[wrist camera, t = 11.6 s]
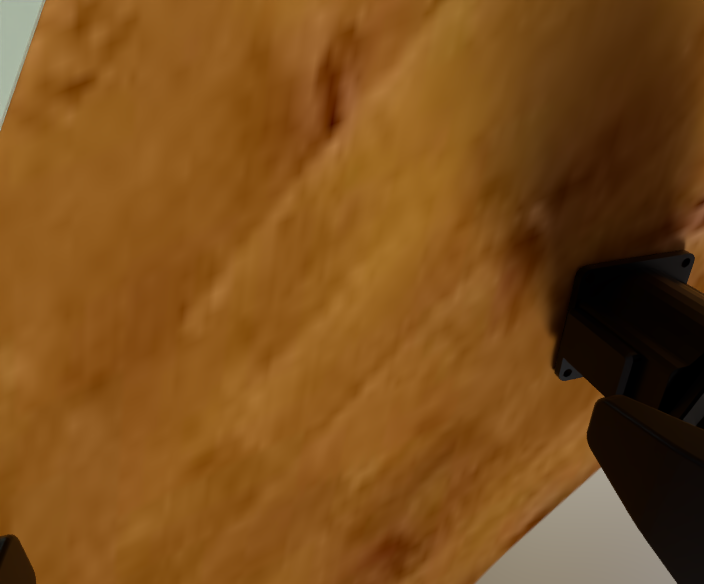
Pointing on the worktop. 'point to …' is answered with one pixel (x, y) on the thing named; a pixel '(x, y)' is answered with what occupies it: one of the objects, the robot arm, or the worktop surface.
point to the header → (15, 43)
